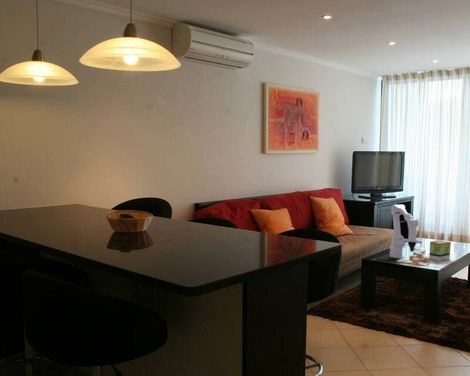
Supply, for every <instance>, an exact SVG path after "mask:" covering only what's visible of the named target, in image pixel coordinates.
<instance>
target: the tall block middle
mask: <svg viewBox="0 0 470 376" xmlns="http://www.w3.org/2000/svg"><path fill="white" fill-rule="evenodd" d="M415 256H416V258H418V259H419V262H423V258H424V253H421V252H417V253H416V254H415Z"/></svg>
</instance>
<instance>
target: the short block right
mask: <svg viewBox="0 0 470 376" xmlns="http://www.w3.org/2000/svg"><path fill="white" fill-rule="evenodd" d="M423 263H429V264H430V263H431V259H430V258H429V257H427V256H423Z"/></svg>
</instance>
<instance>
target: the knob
mask: <svg viewBox="0 0 470 376" xmlns="http://www.w3.org/2000/svg"><path fill="white" fill-rule="evenodd" d="M412 263H419V259H418V258H413V259H412Z"/></svg>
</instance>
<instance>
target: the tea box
mask: <svg viewBox="0 0 470 376" xmlns="http://www.w3.org/2000/svg"><path fill="white" fill-rule="evenodd" d="M428 256H429V257H428V258H430V260H432V261H438V262H441V261H446V260H450V259H451V241H447V240H441V239H439V240H433V241H429V255H428Z"/></svg>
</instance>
